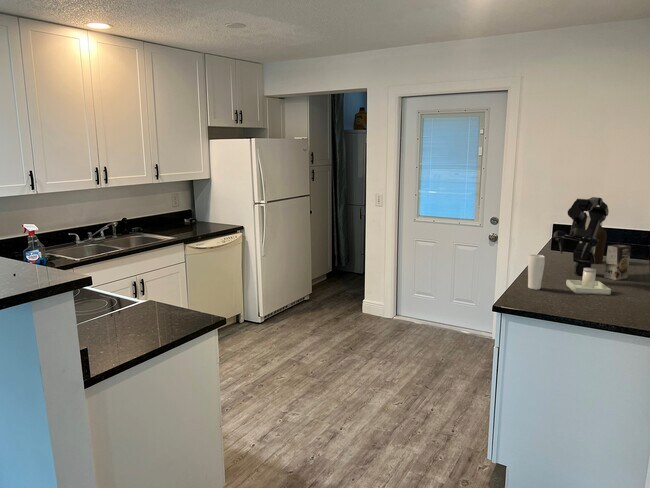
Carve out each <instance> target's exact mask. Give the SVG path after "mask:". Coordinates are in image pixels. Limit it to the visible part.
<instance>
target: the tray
mask: <svg viewBox="0 0 650 488" xmlns="http://www.w3.org/2000/svg"><path fill="white" fill-rule="evenodd" d="M565 283H566V284H565V285H566V286H567V287H568V288H569V289H570V290H572V292H573V293H575V294H582V295H597V296H598V295H601V296H611V293H612V289H611V288H610V287H608V286H607V285H605V284H604V283H602V282H601V281H599V280H595V285H594V288H581V287H582V280H578V279H577V280H576V279H566V282H565Z"/></svg>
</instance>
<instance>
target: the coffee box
mask: <svg viewBox="0 0 650 488" xmlns="http://www.w3.org/2000/svg"><path fill="white" fill-rule="evenodd" d="M631 250H632V246H631V245H626V244H611V245H607V251H606V258H605V268H604V274H603V275H604V276H603V277H604V278H606V279H609V280H610V279H611V280H614V281H618V280H620V281H621V280H624V279H628V273H629V267H630V266H629V264H630V257H631Z"/></svg>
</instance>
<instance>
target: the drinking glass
mask: <svg viewBox="0 0 650 488" xmlns="http://www.w3.org/2000/svg"><path fill="white" fill-rule="evenodd" d="M545 263H546V256H544V255H543V254H529V255H528V261H527V275H528V276H527V288H528V289H530V290H535V291H536V290H541V288H542V281H543V275H544V269H545Z"/></svg>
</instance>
